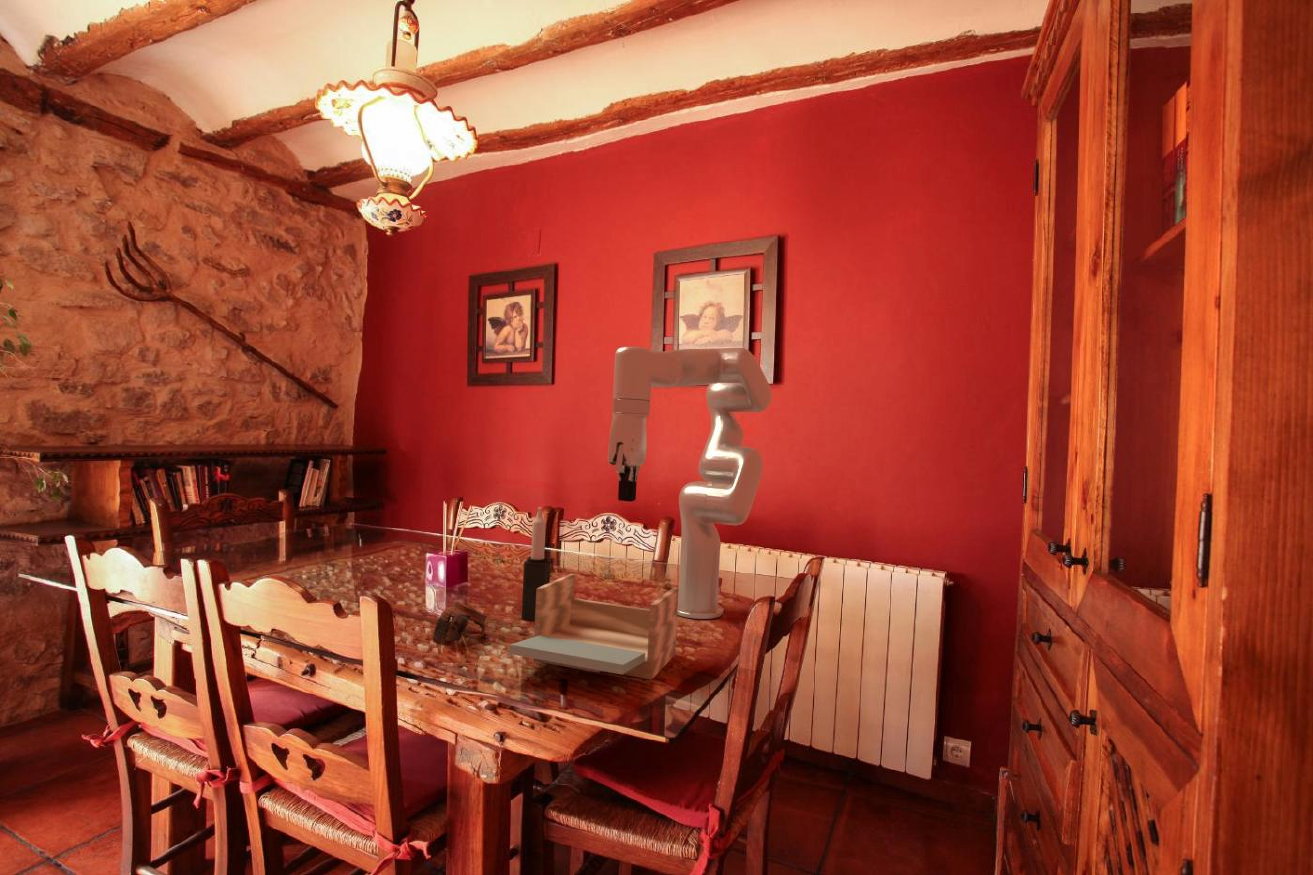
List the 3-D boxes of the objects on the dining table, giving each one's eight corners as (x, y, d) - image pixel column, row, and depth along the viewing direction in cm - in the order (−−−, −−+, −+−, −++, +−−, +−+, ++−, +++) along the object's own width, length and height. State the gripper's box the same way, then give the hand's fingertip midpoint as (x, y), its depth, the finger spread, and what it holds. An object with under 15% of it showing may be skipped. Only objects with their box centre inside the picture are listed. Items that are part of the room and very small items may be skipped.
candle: (541, 621, 138) (546, 509, 138) (519, 619, 139) (524, 507, 139) (549, 615, 143) (554, 506, 143) (528, 613, 144) (533, 504, 144)
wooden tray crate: (567, 636, 130) (570, 573, 130) (675, 654, 122) (678, 587, 122) (533, 658, 117) (536, 588, 117) (651, 679, 109) (655, 605, 109)
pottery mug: (430, 634, 128) (451, 597, 131) (471, 654, 130) (492, 617, 132) (425, 638, 117) (449, 597, 120) (471, 660, 118) (493, 619, 121)
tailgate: (540, 635, 116) (510, 644, 106) (645, 652, 109) (623, 664, 99) (539, 646, 116) (508, 657, 106) (644, 665, 109) (621, 678, 99)
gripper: (627, 410, 134) (623, 496, 134) (598, 406, 120) (594, 502, 120) (660, 411, 132) (656, 499, 132) (635, 408, 117) (630, 505, 118)
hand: (626, 500), depth 126 cm, fingers closed
